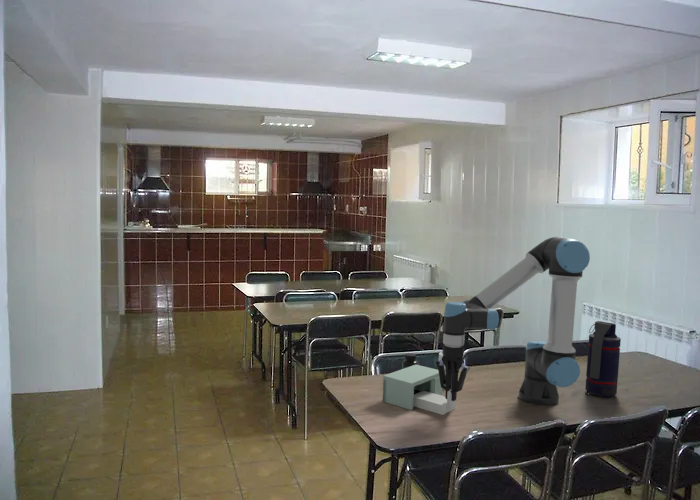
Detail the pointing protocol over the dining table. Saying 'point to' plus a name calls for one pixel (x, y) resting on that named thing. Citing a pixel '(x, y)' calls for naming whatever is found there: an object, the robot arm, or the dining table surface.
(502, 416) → the dining table surface
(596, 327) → the grenade
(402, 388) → the shelf
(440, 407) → the lid
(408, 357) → the supplement bottle
